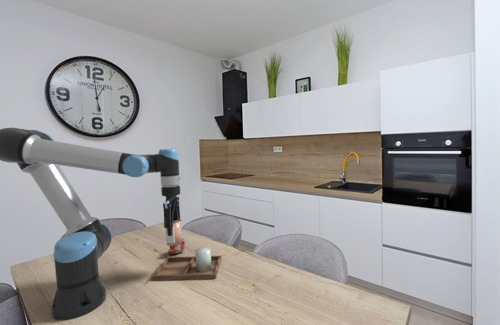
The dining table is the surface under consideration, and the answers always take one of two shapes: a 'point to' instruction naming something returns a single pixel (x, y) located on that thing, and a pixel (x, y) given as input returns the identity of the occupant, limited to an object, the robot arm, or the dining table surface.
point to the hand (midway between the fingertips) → (173, 239)
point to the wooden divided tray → (185, 269)
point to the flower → (177, 248)
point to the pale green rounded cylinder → (203, 259)
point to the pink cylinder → (175, 233)
